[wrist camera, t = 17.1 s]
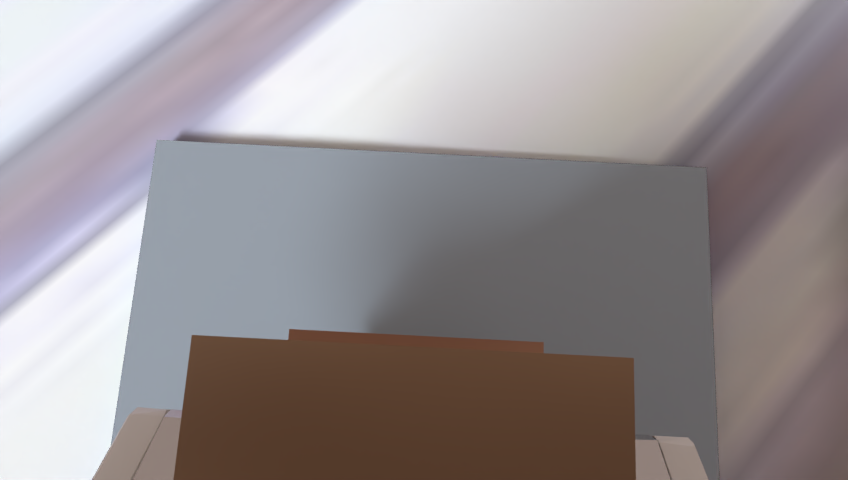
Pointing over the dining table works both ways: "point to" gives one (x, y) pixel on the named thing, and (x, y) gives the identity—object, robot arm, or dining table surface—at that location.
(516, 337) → the rubber mat
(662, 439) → the robot arm
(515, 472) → the walnut block
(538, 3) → the dining table surface
